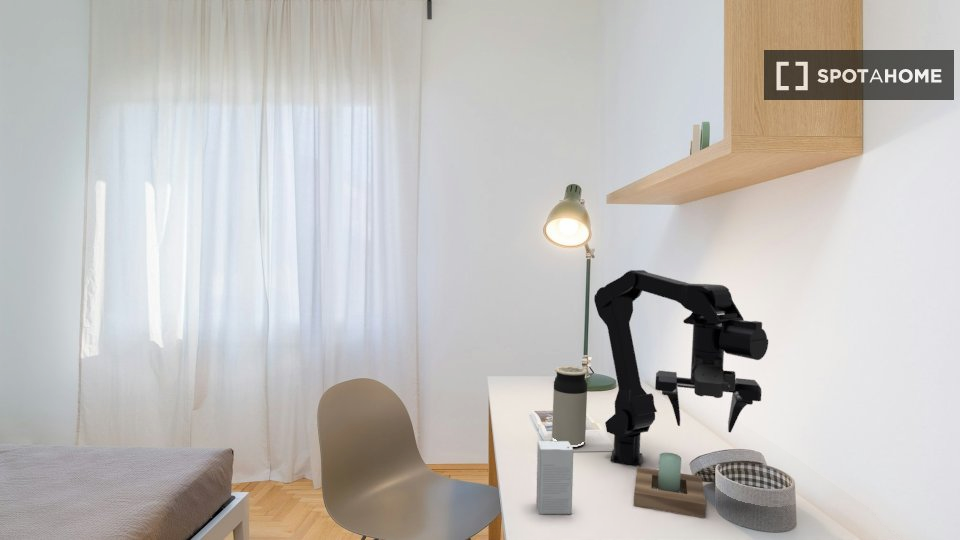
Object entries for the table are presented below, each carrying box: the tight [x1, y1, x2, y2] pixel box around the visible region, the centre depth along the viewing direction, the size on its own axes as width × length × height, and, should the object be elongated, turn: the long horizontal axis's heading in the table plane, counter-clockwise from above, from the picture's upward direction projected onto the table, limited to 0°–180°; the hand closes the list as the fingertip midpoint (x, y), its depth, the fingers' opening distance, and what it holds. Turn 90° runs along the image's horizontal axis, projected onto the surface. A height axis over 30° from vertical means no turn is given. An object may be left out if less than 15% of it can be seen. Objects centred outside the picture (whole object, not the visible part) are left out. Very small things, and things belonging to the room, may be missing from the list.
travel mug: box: [551, 365, 588, 445], centre depth 133 cm, size 8×8×18 cm
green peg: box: [657, 452, 682, 493], centre depth 106 cm, size 4×4×8 cm
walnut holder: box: [633, 466, 707, 519], centre depth 106 cm, size 12×12×2 cm
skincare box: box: [535, 440, 574, 515], centre depth 100 cm, size 6×4×12 cm
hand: (703, 428), depth 107 cm, fingers open, 9 cm apart
